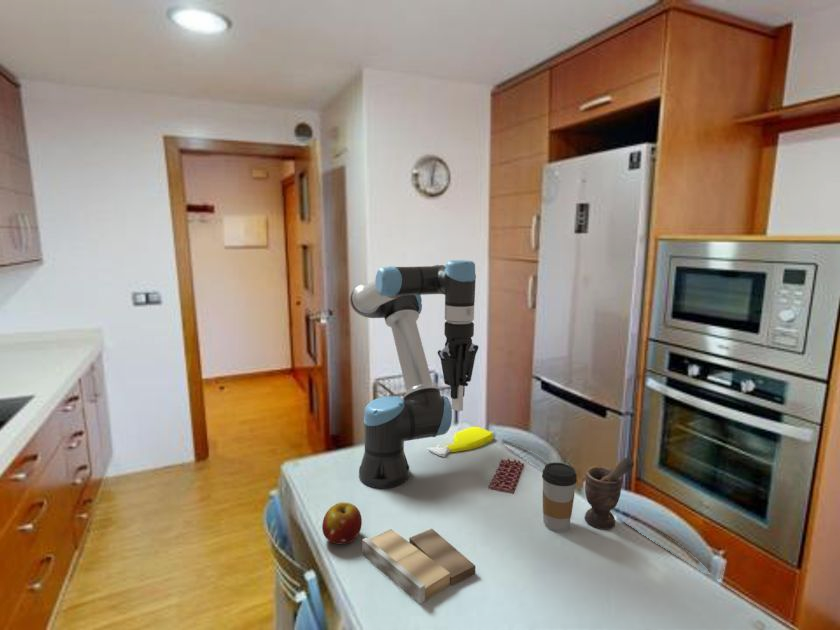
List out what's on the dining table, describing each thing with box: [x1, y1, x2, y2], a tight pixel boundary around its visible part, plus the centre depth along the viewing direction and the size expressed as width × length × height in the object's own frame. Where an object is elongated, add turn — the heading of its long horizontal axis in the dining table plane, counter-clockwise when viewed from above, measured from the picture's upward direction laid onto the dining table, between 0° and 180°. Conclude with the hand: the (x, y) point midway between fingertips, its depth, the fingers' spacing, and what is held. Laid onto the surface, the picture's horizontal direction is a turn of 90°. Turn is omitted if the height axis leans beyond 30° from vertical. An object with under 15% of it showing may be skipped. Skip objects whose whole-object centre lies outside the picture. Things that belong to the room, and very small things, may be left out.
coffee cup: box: [541, 462, 578, 533], centre depth 122 cm, size 8×8×15 cm
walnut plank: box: [408, 528, 476, 587], centre depth 110 cm, size 16×6×2 cm, turn 34°
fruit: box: [321, 501, 363, 545], centre depth 116 cm, size 10×9×8 cm
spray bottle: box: [426, 426, 495, 458], centre depth 169 cm, size 3×11×24 cm
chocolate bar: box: [487, 458, 525, 494], centre depth 148 cm, size 7×19×2 cm, turn 159°
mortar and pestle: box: [584, 456, 635, 530], centre depth 122 cm, size 12×9×20 cm
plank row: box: [361, 528, 450, 605], centre depth 106 cm, size 20×8×4 cm, turn 41°
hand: (457, 409), depth 129 cm, fingers closed
